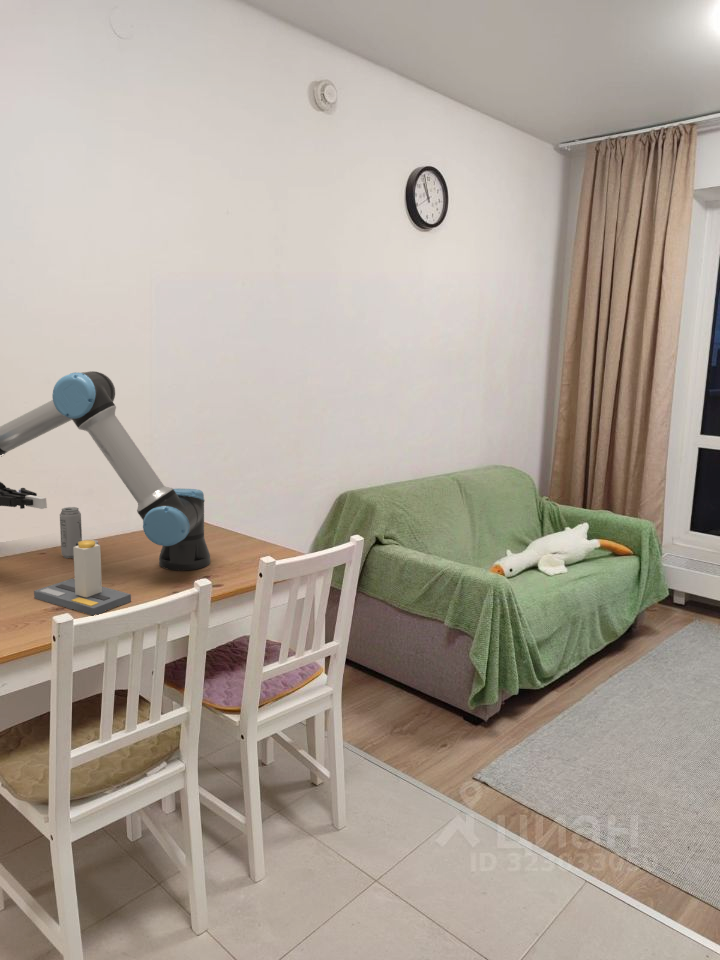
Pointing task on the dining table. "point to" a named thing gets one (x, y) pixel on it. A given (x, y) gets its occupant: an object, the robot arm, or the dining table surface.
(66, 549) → the energy drink can
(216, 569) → the dining table surface
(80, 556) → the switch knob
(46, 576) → the dining table surface
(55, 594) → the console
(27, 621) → the dining table surface
